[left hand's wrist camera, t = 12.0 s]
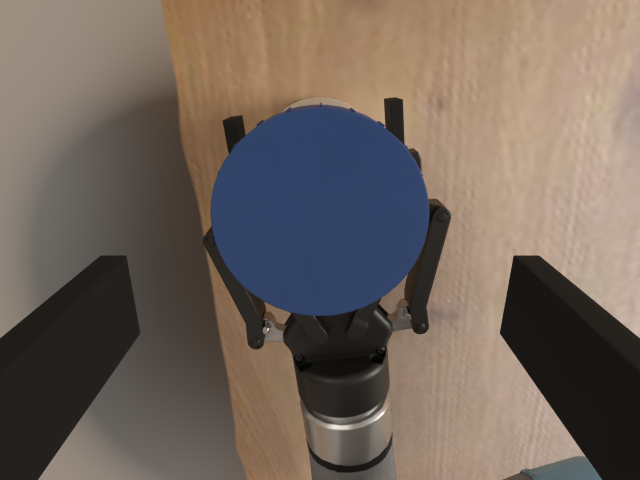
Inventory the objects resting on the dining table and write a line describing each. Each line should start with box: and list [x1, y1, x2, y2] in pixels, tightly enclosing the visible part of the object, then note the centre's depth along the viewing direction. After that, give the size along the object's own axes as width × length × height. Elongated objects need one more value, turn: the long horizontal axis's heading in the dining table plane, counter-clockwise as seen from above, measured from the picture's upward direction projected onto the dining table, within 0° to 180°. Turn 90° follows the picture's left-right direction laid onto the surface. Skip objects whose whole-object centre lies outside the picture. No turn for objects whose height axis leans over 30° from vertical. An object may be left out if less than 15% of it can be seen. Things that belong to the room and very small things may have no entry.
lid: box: [211, 103, 429, 316], centre depth 21 cm, size 10×10×2 cm
